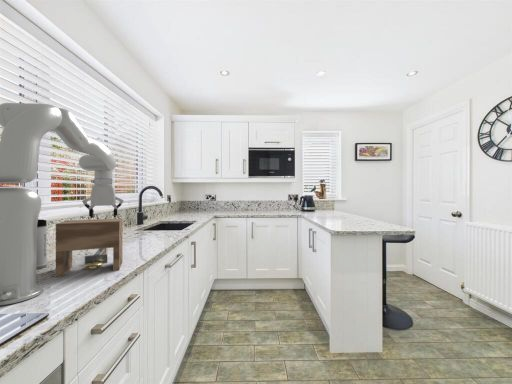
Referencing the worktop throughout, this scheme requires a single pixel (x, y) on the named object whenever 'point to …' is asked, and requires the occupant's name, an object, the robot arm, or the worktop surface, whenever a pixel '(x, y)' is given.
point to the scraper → (97, 256)
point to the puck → (93, 265)
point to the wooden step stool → (87, 240)
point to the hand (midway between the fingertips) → (103, 217)
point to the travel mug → (41, 244)
